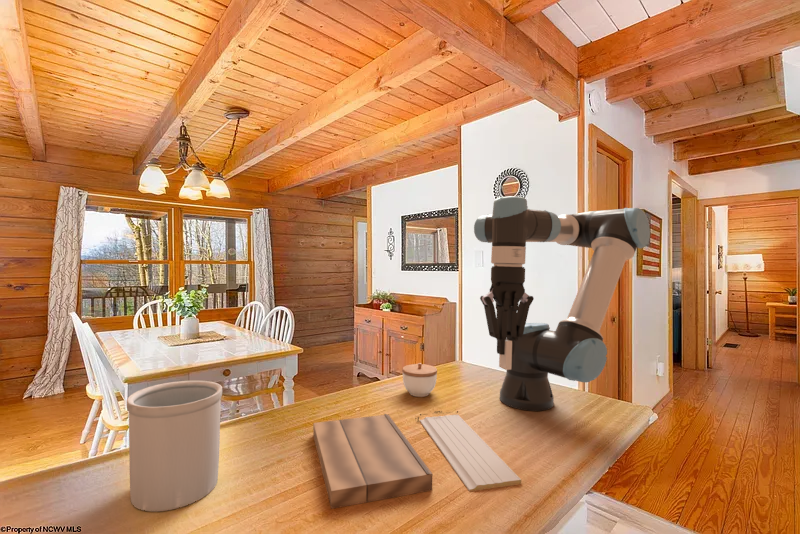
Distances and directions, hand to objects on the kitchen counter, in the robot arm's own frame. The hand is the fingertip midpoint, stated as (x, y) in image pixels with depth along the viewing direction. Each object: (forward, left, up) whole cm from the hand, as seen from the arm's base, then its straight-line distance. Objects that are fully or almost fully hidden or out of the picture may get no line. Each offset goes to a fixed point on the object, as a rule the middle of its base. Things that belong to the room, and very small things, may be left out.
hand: (505, 367), depth 91 cm
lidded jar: (+7, -35, -17) cm, 40 cm away
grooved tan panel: (+32, -1, -17) cm, 37 cm away
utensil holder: (+67, -1, -17) cm, 70 cm away
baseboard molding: (+11, 0, -18) cm, 21 cm away
